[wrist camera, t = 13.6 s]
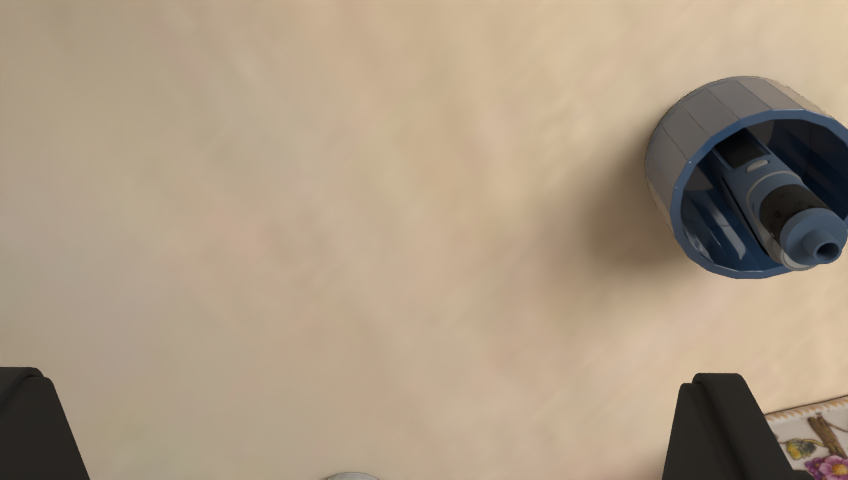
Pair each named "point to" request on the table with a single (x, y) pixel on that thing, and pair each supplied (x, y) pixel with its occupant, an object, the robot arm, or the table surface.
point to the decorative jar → (815, 438)
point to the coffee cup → (352, 477)
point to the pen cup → (696, 187)
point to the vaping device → (775, 204)
